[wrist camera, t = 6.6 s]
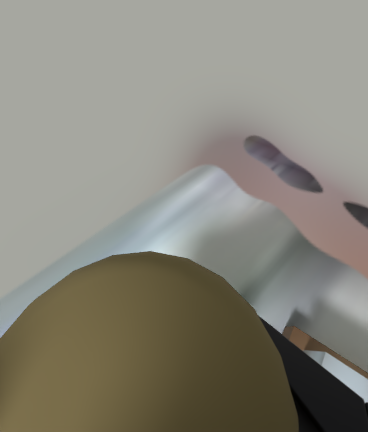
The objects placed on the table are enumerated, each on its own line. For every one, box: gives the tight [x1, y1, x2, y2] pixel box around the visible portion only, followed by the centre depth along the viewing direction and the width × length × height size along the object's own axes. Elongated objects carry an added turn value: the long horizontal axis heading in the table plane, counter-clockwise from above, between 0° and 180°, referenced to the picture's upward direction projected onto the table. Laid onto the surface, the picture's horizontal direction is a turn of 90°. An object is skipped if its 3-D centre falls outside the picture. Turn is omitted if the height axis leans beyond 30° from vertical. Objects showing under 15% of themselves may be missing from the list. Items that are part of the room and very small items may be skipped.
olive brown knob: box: [0, 251, 299, 432], centre depth 7 cm, size 6×6×11 cm
